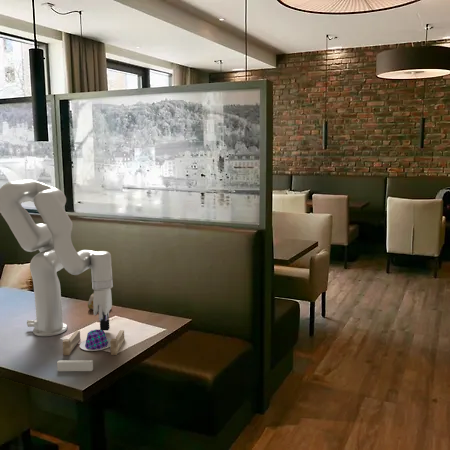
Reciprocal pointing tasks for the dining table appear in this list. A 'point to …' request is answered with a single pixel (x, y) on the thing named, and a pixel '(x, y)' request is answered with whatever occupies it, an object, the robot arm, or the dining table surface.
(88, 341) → the pudding
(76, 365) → the bar
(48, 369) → the dining table surface
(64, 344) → the pair of beige bars
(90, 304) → the white patterned lump
